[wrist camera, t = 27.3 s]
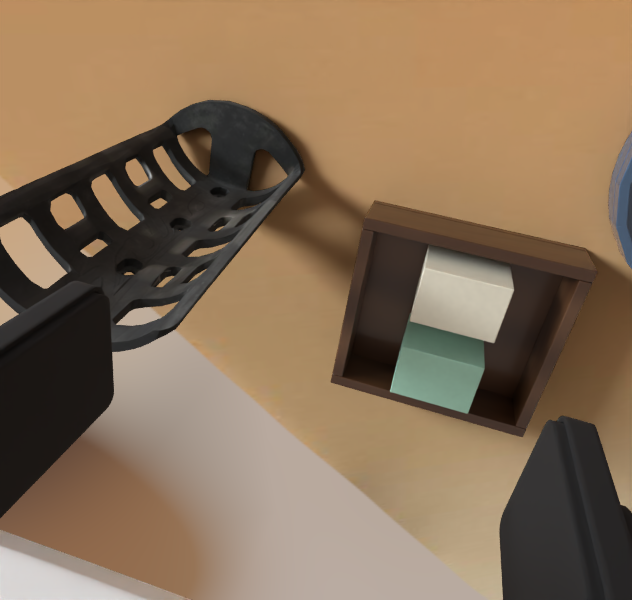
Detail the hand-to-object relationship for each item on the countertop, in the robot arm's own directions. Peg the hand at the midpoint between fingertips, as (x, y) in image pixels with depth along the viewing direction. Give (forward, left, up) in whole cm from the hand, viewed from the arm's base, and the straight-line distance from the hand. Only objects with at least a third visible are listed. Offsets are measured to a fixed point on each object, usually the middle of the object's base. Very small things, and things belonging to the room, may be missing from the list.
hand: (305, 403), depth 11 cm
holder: (+4, -13, -28) cm, 32 cm away
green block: (+14, +5, -28) cm, 31 cm away
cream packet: (+8, +5, -28) cm, 29 cm away
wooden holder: (+11, +5, -28) cm, 31 cm away
